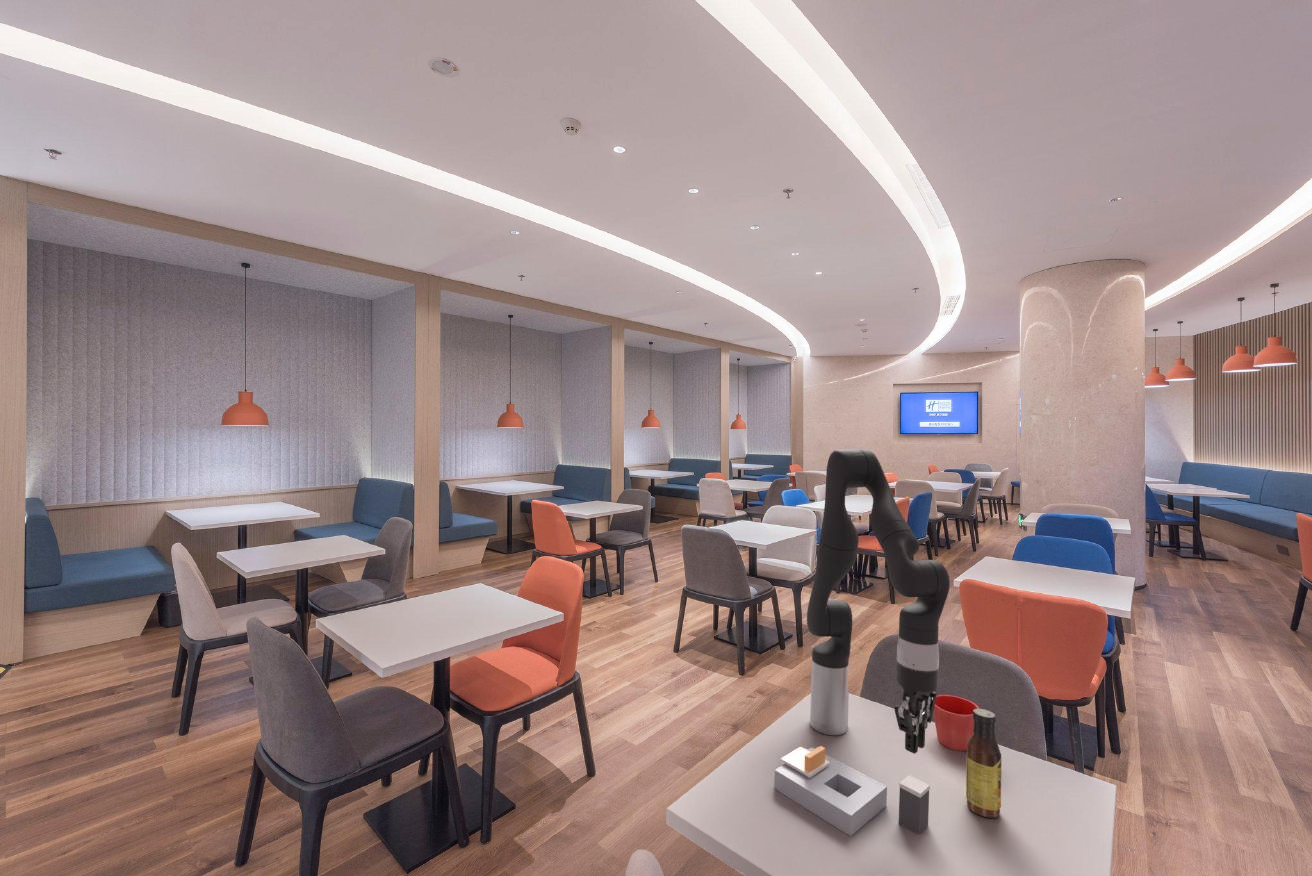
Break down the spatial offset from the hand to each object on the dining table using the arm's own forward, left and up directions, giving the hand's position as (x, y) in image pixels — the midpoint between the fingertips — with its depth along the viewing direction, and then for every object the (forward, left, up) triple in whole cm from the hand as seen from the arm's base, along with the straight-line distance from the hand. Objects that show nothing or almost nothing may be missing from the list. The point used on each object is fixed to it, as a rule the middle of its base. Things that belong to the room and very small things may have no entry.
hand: (914, 748), depth 108 cm
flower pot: (-38, -7, -15) cm, 42 cm away
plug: (0, 0, -15) cm, 15 cm away
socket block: (+6, -15, -15) cm, 22 cm away
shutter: (+6, -21, -11) cm, 24 cm away
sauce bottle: (-16, +7, -15) cm, 23 cm away
